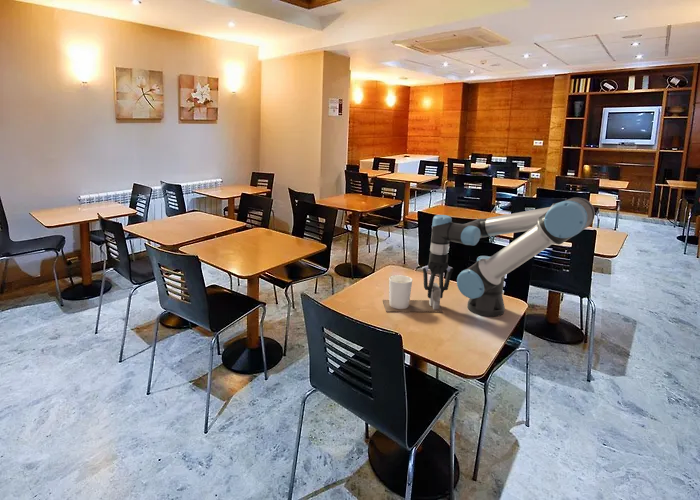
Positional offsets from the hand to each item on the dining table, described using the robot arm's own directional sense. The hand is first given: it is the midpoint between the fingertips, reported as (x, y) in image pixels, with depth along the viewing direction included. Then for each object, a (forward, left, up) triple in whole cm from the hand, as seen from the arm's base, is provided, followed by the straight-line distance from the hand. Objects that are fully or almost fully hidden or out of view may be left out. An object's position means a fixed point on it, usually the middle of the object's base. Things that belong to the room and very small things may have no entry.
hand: (434, 304), depth 190 cm
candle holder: (+14, +6, -1) cm, 15 cm away
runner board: (+9, +4, -1) cm, 10 cm away
